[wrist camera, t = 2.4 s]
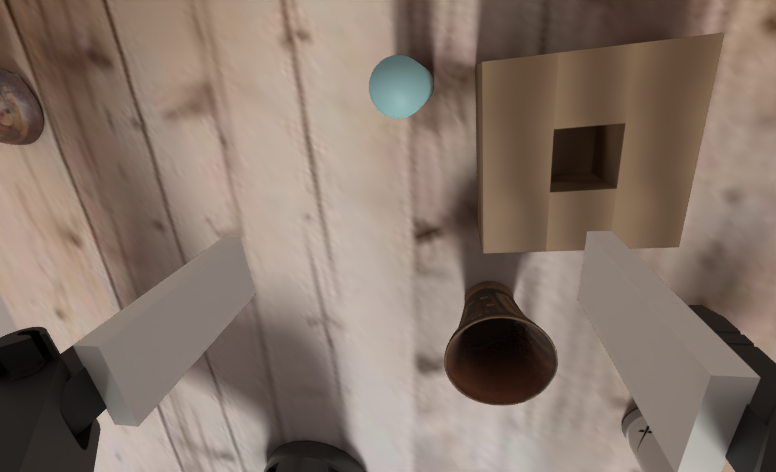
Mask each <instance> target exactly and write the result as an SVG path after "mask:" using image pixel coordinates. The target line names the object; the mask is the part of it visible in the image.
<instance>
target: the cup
mask: <svg viewBox="0 0 776 472" xmlns="http://www.w3.org/2000/svg"><path fill="white" fill-rule="evenodd" d="M444 366H445V371H446V374H447V376H448V378H449V380H450V382H451V383H452V384H453V386H454V387H455V388H456V389H457V390H458V391H459V392H461V393H462V394H463V395H465V396H466V397H468V398H470V399H472V400H474V401H477V402H480V403H485V404H489V405H514V404H518V403H523V402H526V401H527V400H530V399H532V398H534V397H536V396H537V395H539V394H540V393H541V392H543V391H544V389H546V387H547V386H548V385H549V384H550V382H551V380H552V379H553V378H554V376H555V374H556V371H557V367H558V358H557V351H556V348H555V346H554V344H553V342H552V341H551V339H550V337H549V336H548V335H547V334H546V333H545V332H544V331H543V330H542V329H541V328H540V327H539V326H537V325H536V324H535V323H534V322H532V321H531V320H529V319H528V318H527V317H526V316H525V315H524V314H523V313H522V312H521V310H520V309H519V307H518V306H517V304H516V303H515V301H514V299H513V296H512V293H511V292H510V290H509V289H508V288H506V287H505V286H503V285H501V284H499V283H496V282H483V283H480V284H478V285H476V286H474V287H473V288H472V289H471V290H470V291H469V292H468V293H467V295H466V297H465V306H464V310H463V314H462V318H461V321H460V324H459V327H458V329H457V330H456V331H455V333H454V334H453V336H452V337H451V339H450V341H449V343H448V345H447V348H446V351H445V357H444Z"/></svg>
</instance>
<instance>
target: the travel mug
mask: <svg viewBox="0 0 776 472" xmlns="http://www.w3.org/2000/svg"><path fill="white" fill-rule="evenodd" d="M622 431H623V434H624V436H625V438H626V440H627V442H628V443H629V445H630V448H631V450H632V452H633V454H634V456H635V458H636V459H637V461H638V463H639V465H640V467H641V469H642V471H643V472H674V470H673V469H672V467H671V465H670V463H669V461H668V460H667V458H666V456H665V454H664V453H663V451H662V449H661V447H660V445H659V444H658V442H657V440H656V438H655V436H654V435H653V433H652V431H651V429H650V428H649V426H648V424H647V422H646V420H645V419H644V417H643V415H642V413H641V411H640V410H639V408H638V409H636V410H634V411H632V412H631V413H629V414H628V415H627V416H626V417H625V419H624V421H623V424H622ZM721 472H722V471H721Z"/></svg>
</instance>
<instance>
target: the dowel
mask: <svg viewBox="0 0 776 472" xmlns="http://www.w3.org/2000/svg"><path fill="white" fill-rule="evenodd" d="M433 89H434V80H433V77H432V75H431V73H430V72H429V71H428V70H427V69H426V68H425V67H423V66H422V65H421V64H419V63H418V62H416V61H415V60H413V59H412V58H410V57H407V56H404V55H394V56H390V57H387V58H385V59H384V60H382V61H381V62H380V63H379V64H378V65H377V66H376V67H375V69H374V70H373V72H372V75H371V78H370V82H369V92H370V96H371V99H372V102H373V104H374V105H375V107H376V108H377V109H378V110H379V111H380V112H381V113H382V114H384V115H386V116H388V117H391V118H405V117H408V116H410V115H412V114H414V113H415V112H416V111H417V110H418V109H419V108H420V107H421V106H422V105H423V104H424V103H425V102H426V101H427V100H428V99H429V98H430V97H431V95H432V93H433Z"/></svg>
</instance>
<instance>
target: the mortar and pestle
mask: <svg viewBox="0 0 776 472" xmlns="http://www.w3.org/2000/svg"><path fill="white" fill-rule="evenodd" d="M42 129H43V116H42V112H41V109H40V107H39V104H38V102H37V101H36V99H35V97H34V96H33V94H32V93H31V92H30V90H29V89H28V87H27V86H26V84H25V83H24V82H23V81H22V79H21V78H20V77H19V76H18V74H13V73H11V72H9V71H6V70H3V69H0V142H1V143H6V144H14V145H27V144H31V143H33V142H35V141H36V140H37V139H38V138H39V136H40V135H41V133H42Z"/></svg>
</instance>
